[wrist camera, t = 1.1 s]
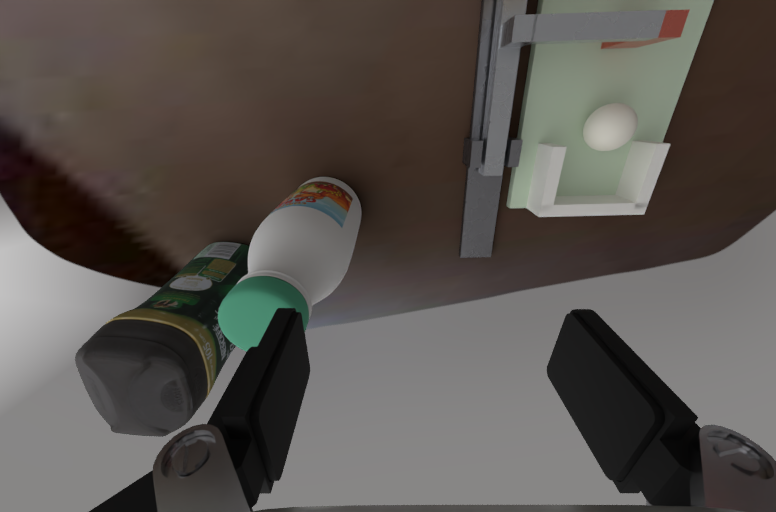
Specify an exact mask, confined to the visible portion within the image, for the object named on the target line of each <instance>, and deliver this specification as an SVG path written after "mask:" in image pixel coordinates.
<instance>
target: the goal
mask: <svg viewBox="0 0 776 512" xmlns="http://www.w3.org/2000/svg"><path fill="white" fill-rule="evenodd" d="M669 147H670V144H668V143H661V142H653V141H645V140H642V141H632V144H631V147H630V150H629V153H628V156H627V159H626V162H625V166H624V169H623V172H622V175H621V178H620V181H619V184H618V188H617V191H616V194H615V195H589V196H556V192H557V187H558V183H559V178H560V174H561V170H562V165H563V161H564V157H565V152H566V148H567V147H566V146H562V145H557V144H553V143H538V148H537V153H536V158H535V164H534V169H533V174H532V180H531V185H530V190H529V196H528V201H527V206H526V208H527V209H528V210H530V211H531V212H532V213H534V214H535V215H537V216H538V217H560V216H601V215H642V214H644V213H645V211H646V208H647V205H648V203H649V200H650V197H651V195H652V192H653V189H654V187H655V184H656V181H657V179H658V176H659V173H660V171H661V168H662V165H663V163H664V160H665V157H666V155H667V152H668V149H669Z"/></svg>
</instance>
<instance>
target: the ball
mask: <svg viewBox="0 0 776 512" xmlns="http://www.w3.org/2000/svg"><path fill="white" fill-rule="evenodd" d="M637 126H638V117H637V114H636V112H635V111H634V109H633V108H631V107H630V106H628V105H626V104H623V103H611V104H607V105H604V106H602V107H600V108H598V109H597V110H595V111H594V112H593V113H592V114H591V115H590V116H589V117H588V119H587V120H586V122H585V124H584V127H583V138H584V141H585V142H586V144H587V145H588V146H589V147H591V148H592V149H595V150H598V151H610V150H614V149H617V148H619V147H621V146H623V145H624V144H626V143H627V142H628V141H629V140H630V139H631V138H632V137H633V135H634V134H635V132H636V129H637Z"/></svg>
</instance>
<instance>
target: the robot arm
mask: <svg viewBox="0 0 776 512" xmlns="http://www.w3.org/2000/svg"><path fill="white" fill-rule="evenodd" d="M309 374H310V364H309V358H308V352H307V345H306V339H305V333H304V326H303V320H302V314H301V312H296V309H295V308H278V309H277V310H276V312H275V314H274V316H273V317H272V319H271V321H270V323H269V325H268V327H267V329H266V331H265V333H264V335H263V337H262V339H261V341H260V342H259V344H258V346H257V347H251V348H249V349H248V351H247V352H246V354H245V356H244V358H243V360H242V361H241V363H240V365H239V367H238V369H237V370H236V372H235V374H234V376H233V378H232V380H231V381H230V383H229V385H228V387H227V389H226V391H225V392H224V394H223V396H222V398H221V400H220V401H219V403H218V405H217V407H216V408H215V411H214V412H213V414H212V416H211V418H210V420H209V421H208V423H207V424H201V425H196V426H192V427H190V428H188V429H186V430H183V431H182V432H180V433H179V434H177V435H176V436H174V437H173V438H172V439H171V440H170V441H169V442H168V443H167V444H166V445H164V447H163V448H162V450H161V451H160V452H159V454H158V455H157V457H156V460H155V462H154V465H153V471H151V472H149V473H148V474H146V475H145V476H143V477H142V478H140V479H139V480H137V481H136V482H134V483H132V484H131V485H129V486H128V487H126V488H125V489H123V490H122V491H120V492H119V493H117V494H116V495H114V496H113V497H111V498H109V499H108V500H106V501H105V502H103V503H102V504H100V505H99V506H97V507H95V508H94V509H92V510H91V511H89V512H253V509H252V507H253V506H254V505H255V504H256V503H257V500H258V497H259V494H260V493H271V490H272V487H273V483H274V481H277V480H278V481H279V479H280V478H281V475H282V472H283V469H284V465H285V461H286V458H287V454H288V450H289V447H290V444H291V440H292V436H293V433H294V429H295V426H296V421H297V418H298V415H299V411H300V407H301V404H302V400H303V397H304V393H305V389H306V386H307V382H308V379H309ZM547 374H548V377H549V379H550V381H551V382H552V384H553V386H554V388H555V389H556V391H557V393H558V395H559V396H560V398H561V400H562V401H563V403H564V405H565V407H566V408H567V410H568V412H569V414H570V415H571V417H572V419H573V420H574V422H575V424H576V426H577V427H578V429H579V431H580V432H581V434H582V436H583V438H584V439H585V441H586V443H587V444H588V446H589V448H590V450H591V451H592V453H593V455H594V456H595V458H596V460H597V462H598V463H599V465H600V467H601V468H602V470H603V472H604V474H605V475H606V476H607V477H608V478H609V479H610V480H613V482H614V484H615V485H616V487H617V489H618V490H619V492H620V493H639V492H640V491H641V492H642V493H643V495H644V496H645V498H646V499H647V501H646V506H645V505H382V506H381V505H379V506H378V505H377V506H375V505H372V506H321V507H290V508H278V509H267V510H259V511H254V512H776V461H775V460H774V459H773V458H772V456H771V455H769V454H768V453H767V452H766V451H765V450H764V449H763V448H761V447H760V446H759V445H757V444H756V443H754V442H753V441H752V440H750V439H749V438H747V437H745V436H743V435H741V434H739V433H737V432H736V431H733V430H731V429H728V428H725V427H722V426H717V425H705V426H703V427H702V428H700V427H699V426H698V425H697V424H696V423H695V421H696V420H697V418H698V417H697V416H696V415H695V414H694V413H693V412H692V411H691V409H690V408H688V406H687V405H686V404H685V403H684V402H683V401H682V400H681V399H680V398H679V397H678V396H677V395H676V394H675V393H674V392H673V391H672V390H671V389H670V388H669V387H668V386H667V385H666V384H665V383H664V382H663V381H662V380H661V379H660V378H659V377H658V376H657V375H656V374H655V373H654V372H653V371H652V370H651V369H650V368H649V367H648V366H647V365H646V364H645V363H644V361H643V360H642V359H641V358H640V357H639V356H638V355H637V354H636V353H635V352H634V351H633V350H632V349H631V348H630V347H629V346H628V345H627V344H626V343H625V342H624V341H623V340H622V339H621V338H620V337H619V336H618V335H617V334H616V333H615V332H614V331H613V330H612V329H611V328H610V327H609V326H608V325H607V324H606V323H605V322H604V321H603V320H602V318H600V316H599V315H598V314H597V313H595V312H594V311H593V310H589V309H587V310H586V309H582V310H581V309H579V310H578V309H576V310H572V311H571V312H570V314H567V315H566V317H565V320H564V322H563V325H562V328H561V330H560V333H559V336H558V339H557V341H556V344H555V347H554V350H553V352H552V355H551V358H550V361H549V363H548V366H547Z"/></svg>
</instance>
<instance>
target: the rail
mask: <svg viewBox="0 0 776 512" xmlns="http://www.w3.org/2000/svg"><path fill="white" fill-rule="evenodd" d="M527 2H528V0H527ZM496 3H497V0H482V3H481V14H480V25H479V37H478V48H477V59H476V70H475V81H474V92H473V104H472V115H471V126H470V137H469V138H464V150H463V163H464V164H465V165H466V166H467V171H466V182H465V193H464V204H463V215H462V226H461V237H460V249H459V256H460V258H465V257H491V252H492V245H493V238H494V232H495V225H496V218H497V211H498V204H499V197H500V190H501V183H502V176H503V172H502V176H483V175H481V174H480V173H479V172H478V171H479V168H480V167H481V158H482V149H483V141H482V134H483V124H484V115H485V106H486V96H487V87H488V78H489V68H490V59H491V50H492V41H493V31H494V22H495V13H496ZM526 9H527V5H526ZM525 15H526V12H525ZM520 51H521V48H520ZM519 58H520V54H519ZM518 65H519V61H518ZM517 72H518V68H517ZM516 78H517V75H516ZM515 85H516V82H515ZM514 92H515V89H514ZM513 99H514V96H513ZM512 106H513V103H512ZM511 113H512V110H511ZM510 120H511V117H510ZM509 127H510V124H509ZM508 134H509V131H508ZM522 142H523V140H522V139H518V138H514V137H508V138H507V145H506V151H505V158H504V165H505V166H507V167H518V166H519V160H520V154H521V148H522ZM504 165H503V169H504Z"/></svg>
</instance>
